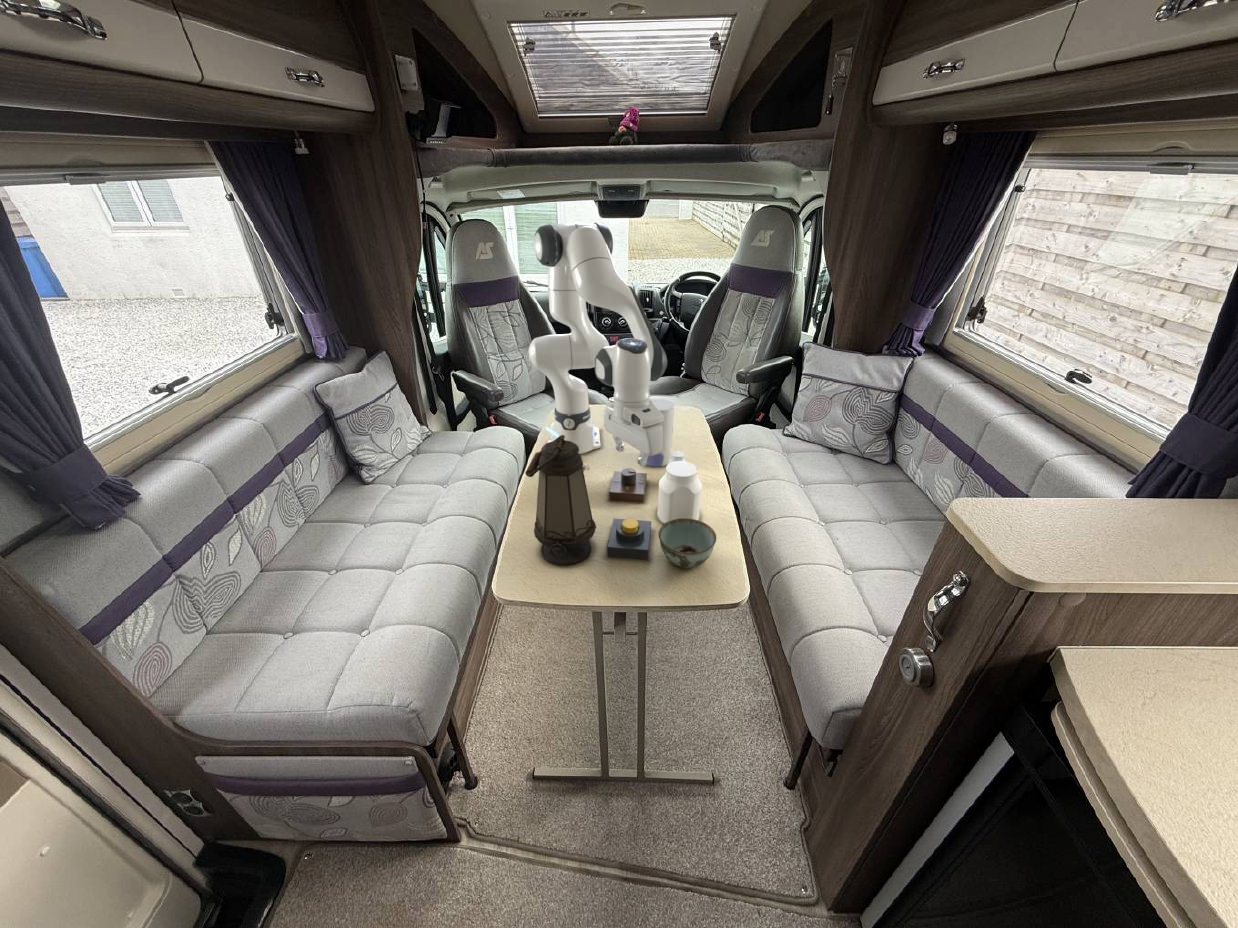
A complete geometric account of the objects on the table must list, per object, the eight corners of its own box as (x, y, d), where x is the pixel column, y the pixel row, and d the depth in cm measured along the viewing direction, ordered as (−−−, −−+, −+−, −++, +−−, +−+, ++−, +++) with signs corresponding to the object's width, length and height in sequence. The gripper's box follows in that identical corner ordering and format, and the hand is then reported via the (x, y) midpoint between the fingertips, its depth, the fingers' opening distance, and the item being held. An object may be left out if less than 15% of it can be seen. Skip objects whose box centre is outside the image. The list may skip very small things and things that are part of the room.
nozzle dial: (620, 485, 146) (620, 474, 144) (621, 477, 150) (622, 466, 148) (635, 486, 145) (635, 475, 144) (636, 478, 149) (636, 467, 147)
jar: (658, 525, 134) (661, 477, 126) (656, 505, 142) (658, 459, 135) (701, 525, 134) (706, 477, 126) (696, 505, 142) (700, 459, 135)
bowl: (689, 537, 129) (691, 511, 126) (725, 566, 120) (728, 539, 116) (646, 555, 123) (647, 529, 119) (680, 587, 113) (682, 560, 109)
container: (676, 459, 166) (680, 403, 157) (659, 470, 160) (662, 412, 150) (652, 450, 172) (655, 395, 162) (634, 460, 165) (636, 404, 156)
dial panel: (614, 479, 155) (614, 470, 153) (646, 481, 154) (646, 472, 152) (609, 500, 144) (609, 491, 143) (643, 503, 143) (643, 493, 142)
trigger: (623, 523, 127) (623, 518, 126) (638, 524, 126) (638, 519, 125) (621, 533, 123) (621, 527, 122) (637, 534, 123) (637, 528, 122)
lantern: (591, 576, 116) (587, 464, 102) (527, 571, 118) (514, 460, 103) (601, 529, 132) (599, 426, 118) (545, 525, 134) (536, 423, 119)
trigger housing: (613, 528, 133) (613, 512, 130) (651, 530, 132) (651, 515, 129) (607, 557, 122) (607, 540, 120) (647, 560, 121) (648, 544, 119)
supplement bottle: (683, 487, 151) (686, 458, 146) (666, 485, 152) (667, 457, 147) (685, 478, 155) (687, 450, 151) (668, 476, 156) (669, 448, 152)
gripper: (597, 397, 128) (598, 445, 134) (647, 424, 113) (645, 476, 120) (617, 392, 131) (617, 439, 137) (668, 417, 116) (665, 469, 123)
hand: (630, 457), depth 128 cm, fingers open, 8 cm apart
